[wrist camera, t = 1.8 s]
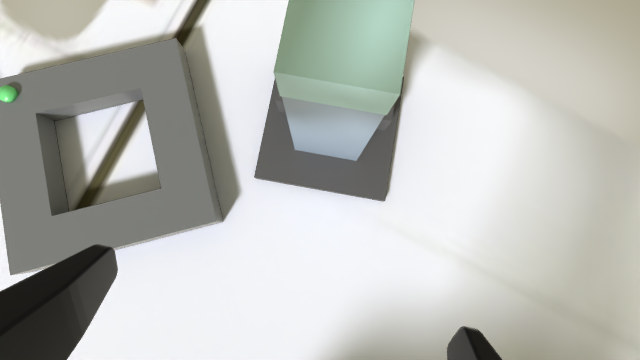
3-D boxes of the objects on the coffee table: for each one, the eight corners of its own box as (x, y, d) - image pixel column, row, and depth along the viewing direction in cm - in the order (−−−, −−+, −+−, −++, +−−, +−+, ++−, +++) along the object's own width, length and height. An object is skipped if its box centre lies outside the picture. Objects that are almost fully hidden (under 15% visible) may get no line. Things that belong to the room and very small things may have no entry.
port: (223, 221, 22) (214, 221, 20) (31, 271, 21) (5, 275, 19) (184, 50, 23) (173, 35, 21) (6, 92, 22) (-21, 80, 21)
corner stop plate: (383, 201, 22) (392, 198, 19) (255, 178, 22) (248, 171, 19) (402, 80, 23) (412, 62, 21) (280, 58, 23) (276, 38, 21)
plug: (356, 161, 22) (400, 94, 11) (293, 150, 22) (273, 72, 11) (367, 101, 22) (417, -20, 11) (305, 90, 22) (297, -41, 11)
